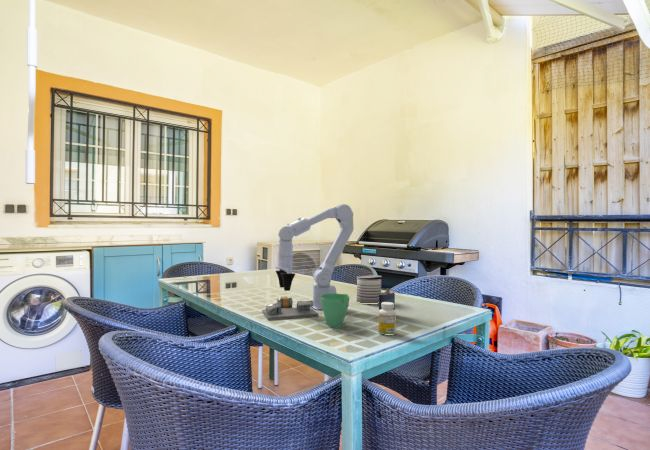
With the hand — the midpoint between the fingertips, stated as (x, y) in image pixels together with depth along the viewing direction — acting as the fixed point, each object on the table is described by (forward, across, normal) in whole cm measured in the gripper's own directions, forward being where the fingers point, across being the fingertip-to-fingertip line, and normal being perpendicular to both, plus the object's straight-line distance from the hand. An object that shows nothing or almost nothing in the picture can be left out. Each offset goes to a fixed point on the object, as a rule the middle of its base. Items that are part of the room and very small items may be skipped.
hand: (284, 288), depth 147 cm
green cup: (+8, +28, +12) cm, 32 cm away
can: (+8, -1, +39) cm, 40 cm away
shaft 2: (+8, +9, +6) cm, 13 cm away
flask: (+8, +24, +34) cm, 42 cm away
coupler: (+8, 0, 0) cm, 8 cm away
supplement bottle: (+8, +43, +23) cm, 49 cm away
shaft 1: (+8, +11, -7) cm, 15 cm away
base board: (+8, +10, 0) cm, 13 cm away
